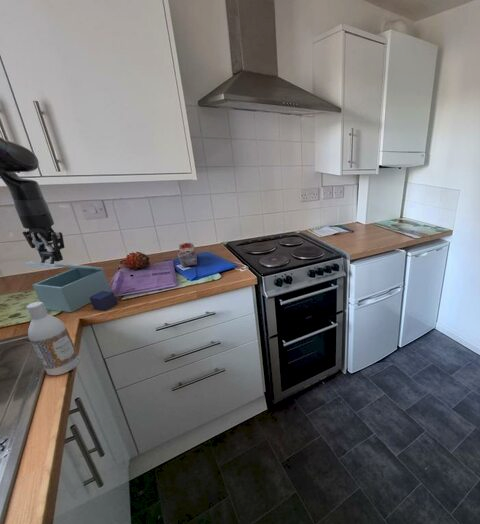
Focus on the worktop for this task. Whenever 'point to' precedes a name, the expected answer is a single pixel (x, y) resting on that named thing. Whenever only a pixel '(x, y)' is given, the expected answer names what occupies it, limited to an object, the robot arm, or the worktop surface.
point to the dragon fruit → (135, 260)
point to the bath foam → (51, 341)
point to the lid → (49, 254)
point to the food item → (187, 254)
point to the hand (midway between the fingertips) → (52, 259)
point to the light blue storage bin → (71, 289)
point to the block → (103, 300)
